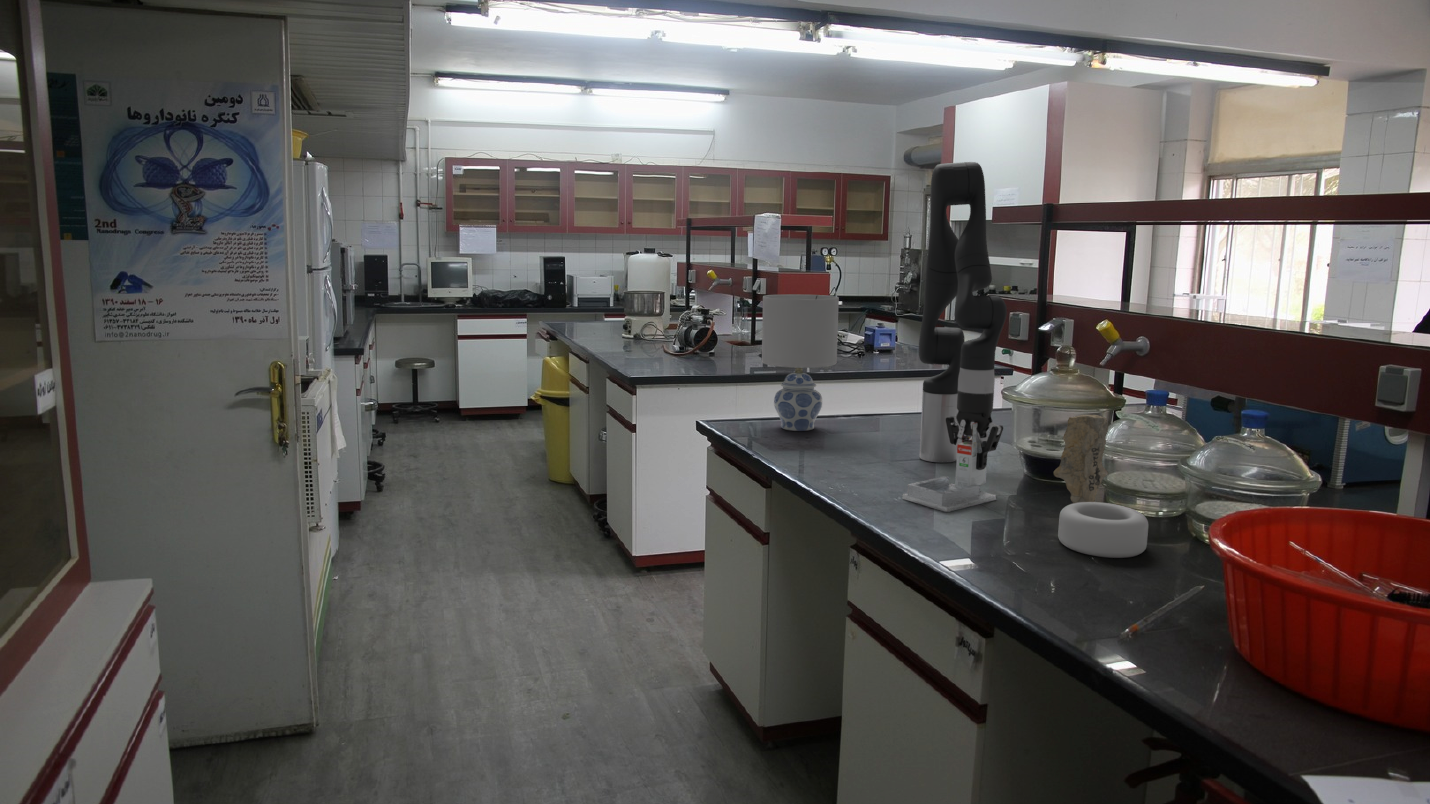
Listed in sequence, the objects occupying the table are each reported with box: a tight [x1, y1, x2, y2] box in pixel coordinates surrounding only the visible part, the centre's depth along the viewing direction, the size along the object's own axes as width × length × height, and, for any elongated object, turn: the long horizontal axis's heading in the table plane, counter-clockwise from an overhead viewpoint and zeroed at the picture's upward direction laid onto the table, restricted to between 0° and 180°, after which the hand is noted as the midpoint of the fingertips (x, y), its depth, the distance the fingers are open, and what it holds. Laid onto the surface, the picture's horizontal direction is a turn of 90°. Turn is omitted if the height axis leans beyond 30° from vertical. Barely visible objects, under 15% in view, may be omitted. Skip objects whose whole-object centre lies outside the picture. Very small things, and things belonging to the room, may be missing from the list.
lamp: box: [761, 293, 840, 432], centre depth 270 cm, size 22×22×38 cm
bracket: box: [902, 475, 997, 513], centre depth 200 cm, size 16×12×4 cm
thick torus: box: [1057, 501, 1149, 559], centre depth 171 cm, size 15×15×7 cm
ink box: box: [954, 422, 989, 488], centre depth 203 cm, size 4×8×15 cm, turn 139°
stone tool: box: [1053, 414, 1109, 504], centre depth 193 cm, size 12×6×20 cm, turn 96°
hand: (971, 466), depth 204 cm, fingers closed on ink box, 4 cm apart
